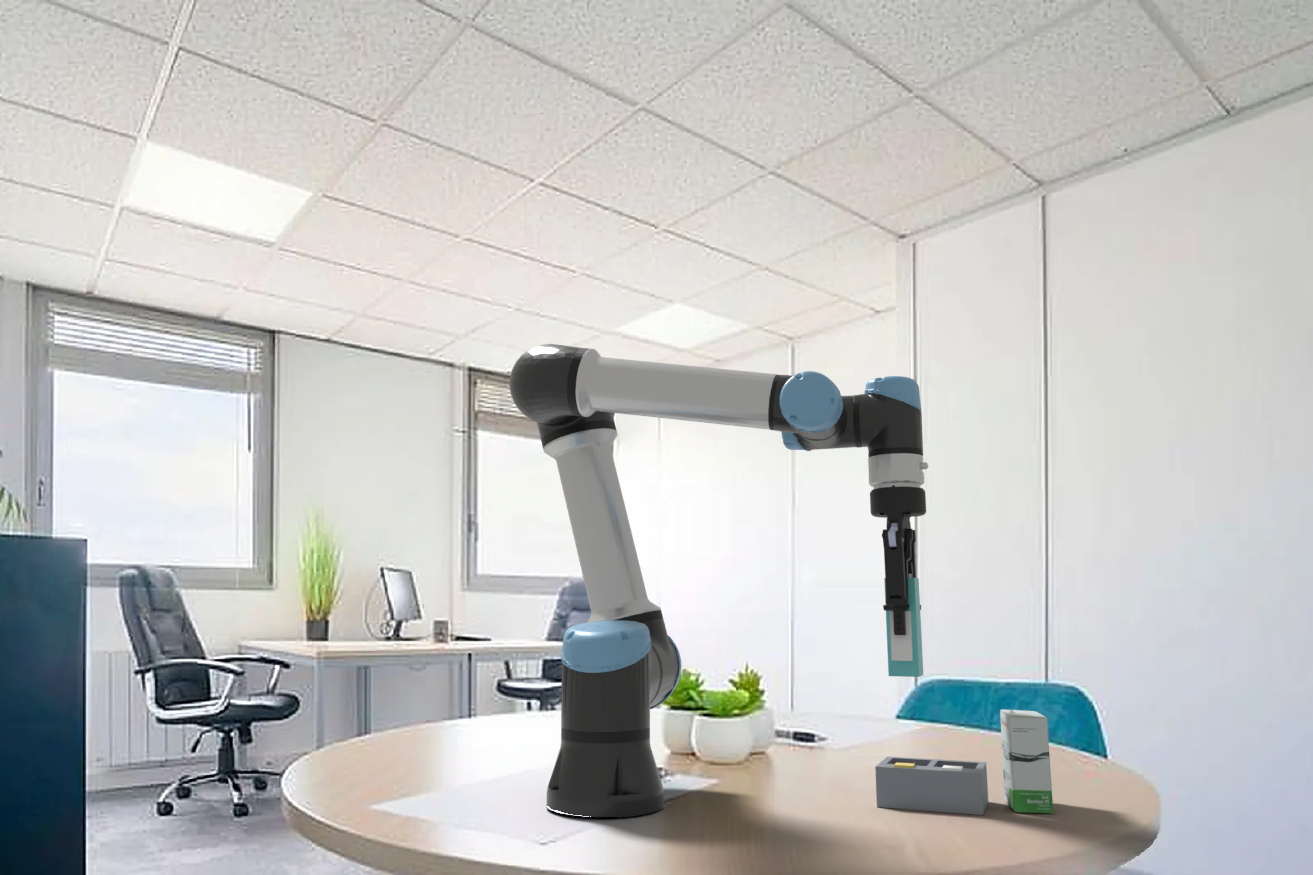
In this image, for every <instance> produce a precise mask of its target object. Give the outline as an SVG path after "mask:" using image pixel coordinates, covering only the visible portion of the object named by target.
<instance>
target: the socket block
mask: <svg viewBox="0 0 1313 875" xmlns="http://www.w3.org/2000/svg"><path fill="white" fill-rule="evenodd" d="M987 772H988V771H987V762H986V761H973V760H972V761H970V760H954V759H953V760H952V759H937V758H920V757H918V758H917V757H901V756H900V757H899V756H886V757H884V758H883V760H881V761H880V762H879V763H878V764H877V765H875V790H876V792H875V793H876V807H877V808H884V809H886V808H887V809H896V810H897V809H898V810H911V811H924V812H937V813H949V814H951V813H953V814H965V815H977V816H983V815H984V814H985V812H986V808H987V807H988V804H989V791H988V790H989V789H988V788H989V787H988V786H989V785H988V773H987Z"/></svg>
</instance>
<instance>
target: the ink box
mask: <svg viewBox="0 0 1313 875" xmlns="http://www.w3.org/2000/svg"><path fill="white" fill-rule="evenodd" d="M999 714H1000V715H999V716H1000V734H1001V735H1000V736H1001V740H1000V741H1001V756H1002V757H1001V758H1002V778H1003V779H1002V780H1003V781H1002V783H1003V798H1004V801H1005V802H1006V804H1007V805H1008V806H1009V807H1010V808H1011V809H1012V810H1013V811H1014V812H1015V813H1024V814H1027V813H1028V814H1029V813H1030V814H1054V802H1053V789H1052V785H1053V784H1052V774H1051V772H1052V771H1051V758H1050V757H1051V756H1050V745H1049V744H1050V742H1049V731H1048V728H1049V727H1048V726H1049V725H1048V717H1046V716H1045V715H1043V714H1042V713H1039V712H1038V711H1036V710H1024V709H1023V710H1022V709H1021V710H1019V709H1000V710H999Z"/></svg>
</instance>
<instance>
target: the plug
mask: <svg viewBox="0 0 1313 875" xmlns="http://www.w3.org/2000/svg"><path fill="white" fill-rule="evenodd" d="M883 578H884V597H885V598H884V599H885V604H884V605H887V604H886V580H885V577H883ZM920 596H921V595H920V579H919V578H918V577H916V578H912V574H908V597H909V610H905V611H911V627H912V648H913V661H892V658H891V635H890V612H889V611H893V610H885V623H886V643H887V645H886V646H887V666H888V667H887V668H888V669H887V672H888V677H903V678H904V677H906V678H907V677H909V678H910V677H911V678H913V677H914V678H920V677H922V676H924V660H923V642H922V638H923V637H922V620H921V617H922V616H921V610H920V605H921V601H920V600H921V598H920Z"/></svg>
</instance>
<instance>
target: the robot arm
mask: <svg viewBox="0 0 1313 875" xmlns="http://www.w3.org/2000/svg"><path fill="white" fill-rule="evenodd" d="M509 392H510V395H511V398H512V401H513V403H514V405H515V406H516V408H517V409H518V410H519V411H520V412H521V413H522V414H523V415H524V416H525V417H527V418H528V419H530V420H532V421H533V422H536V423H537V424H536V425H537V429H538V433H539V437H540V441H541V447H542V450H543V452H544V454H546V455H548V456H549V457H551V458H553V459H554V460H555V462H556V464H557V465H556V466H557V470H558V474H559V479H560V484H561V487H562V491H563V496H564V501H565V504H566V509H567V513H568V518H569V522H570V526H571V530H572V535H573V540H574V543H575V547H576V552H577V556H578V561H579V566H580V570H581V574H582V578H583V581H584V587H585V591H586V594H587V599H588V604H589V607H590V617H589V618H588V619H587V622H583V623H579V624H575V625H572V626H570V627H568V628H567V630H566V631H565V632H564V634H563V637H562V648H561V650H560V651H561V652H560V660H561V687H560V688H561V694H560V696H561V699H560V700H561V701H560V702H561V703H560V704H561V708H560V710H561V711H560V713H561V714H560V718H561V720H560V723H561V724H560V727H561V729H560V730H561V731H560V747H559V751H558V754H557V756H556V760H555V763H554V767H553V769H552V773H551V775H550V778H549V781H548V785H547V787H546V806H549V807H550V808H551V809H553V810H558V811H561V812H564V813H568V814H573V815H582V816H589V817H590V816H591V817H618V818H628V817H629V818H630V817H638V816H641V815H646V814H647V815H648V814H651V813H654V812H658V811H659V810H661V809H663V808H664V806H665V805H664V800H665V799H664V796H665V794H664V792H665V790H664V786H663V782H662V779H661V776H660V773H659V769H658V766H657V764H656V761H655V757H654V754H653V753H654V752H653V750H652V747H651V710H652V709H654V708H656V707H658V706H660V705H661V704H663V703H664V702H665V701H666V700H667V699H668V698H669V697H670V696H671V695H672V694H673V692H674V691H675V689H676V688H677V686H678V684H679V681H680V679H681V674H682V657H681V654H680V651H679V649H678V647H677V644H676V643H675V642H674V640H673V639H672V637H671V636H670V635H668V632H667V628H666V623H665V620H664V616H663V613H662V609H661V607H660V606H658V605H657V604H655V603H653V602H652V601H651V600H650V599H649V598H648V594H647V589H646V586H645V580H644V578H643V574H642V569H641V566H640V560H639V556H638V553H637V550H636V544H635V542H634V538H633V533H632V529H631V525H630V521H629V517H628V513H627V509H626V505H625V501H624V496H623V493H622V492H623V491H622V488H621V485H620V480H619V477H618V473H617V472H618V471H617V469H616V468H617V467H616V464H615V460H614V456H613V452H612V445H613V444H614V442H615V440H616V438H617V437H618V431H617V426H616V423H615V422H616V421H615V419H614V418H615V414H620V415H621V414H622V415H632V416H641V417H649V418H657V419H668V420H677V421H678V420H679V421H685V422H696V423H706V424H714V425H723V426H734V427H741V428H743V427H744V428H751V429H758V430H759V429H760V430H761V429H762V430H768V431H769V430H770V431H775V432H780V433H781V439H782V443H783V445H784V446H785V448H786V449H788V450H791V451H805V452H812V451H813V450H814V451H815V450H828V449H829V450H831V449H832V450H833V449H848V448H867V451H868V453H867V454H868V456H867V457H868V458H867V461H868V462H867V463H868V464H867V465H868V467H867V468H868V485H869V486H870V487H872V488H873V489H871V490H870V492H869V501H870V502H869V504H870V515H872V516H873V517H875V518H885V519H886V526H885V527H886V528H885V529H882V534H881V538H882V543H883V557H884V575H885V576H884V578H885V580H886V604H887V605H886V604H883V607H882V608H883V611H886V610H893V611H889V612H890V635H891V658H892V661H913V648H912V627H911V611H905V610H909V597H908V574H912V578H917V567H916V566H917V564H916V557H917V556H916V542H917V534H916V530H915V529H913V528H912V527H911V521H910V520H911V518H913V517H922V516H924V515H926V513H927V499H926V497H927V496H926V490H925V489H924V487H921V486H922V485H924V484H925V472H924V471H923V470H927V469H928V468H929V463H928V462H924V448H923V447H924V446H923V442H924V441H923V417H922V416H923V415H922V414H923V413H922V404H921V396H920V395H921V394H920V386H919V384H918V383H917V381H916V380H915V379H913V378H911V377H908V376H902V375H890V376H883V377H875V378H872V379H869V380H868V381H867V382H866V383H865V389H864V391H863V392H864V393H860V394H854V395H842V394H841V391H840V389H839V388H838V387H837V385H836V383H835V382H833V381H832V380H831V379H830V378H829V377H827V375H825V374H823V373H821V372H818V371H812V370H811V371H810V370H808V371H807V370H806V371H802V372H798V373H797V374H794V375H791V374H790V375H789V374H778V373H768V372H758V371H757V372H756V371H750V370H749V371H747V370H738V369H728V368H727V369H725V368H719V367H718V368H717V367H707V366H706V367H704V366H696V365H688V364H687V365H685V364H676V363H675V364H673V363H668V362H667V363H665V362H654V361H646V360H636V359H624V358H614V357H605V356H603V357H602V356H601V354H600V353H599V352H598V351H597V349H595V348H588V347H587V348H586V347H577V346H570V345H562V344H554V343H543V344H540V345H536V346H534V347H531V348H529V349H527V350H526V351H525V352H524V353H522V354H520V357H519V358H518V359H517V360H516V362H515V364H514V365H513V367H512V370H511V372H510V376H509ZM921 610H922V604H920V611H921Z"/></svg>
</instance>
